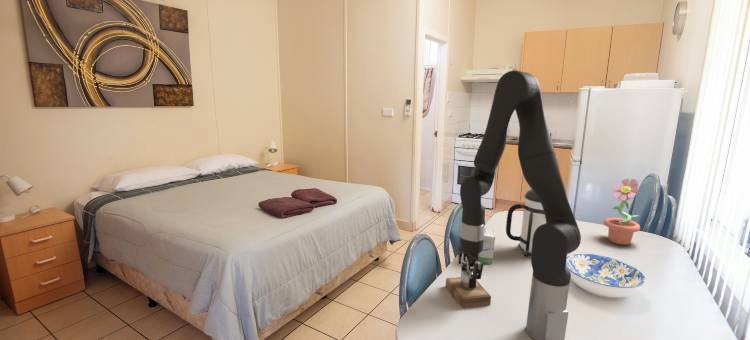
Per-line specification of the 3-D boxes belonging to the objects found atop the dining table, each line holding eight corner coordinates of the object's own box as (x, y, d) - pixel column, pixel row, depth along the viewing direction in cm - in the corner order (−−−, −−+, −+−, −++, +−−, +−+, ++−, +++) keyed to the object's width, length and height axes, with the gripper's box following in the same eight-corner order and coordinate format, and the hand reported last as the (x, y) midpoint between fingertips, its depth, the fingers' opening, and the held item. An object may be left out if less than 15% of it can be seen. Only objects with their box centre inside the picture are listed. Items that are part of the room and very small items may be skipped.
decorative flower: (592, 236, 173) (602, 175, 167) (616, 234, 176) (627, 174, 170) (618, 249, 159) (630, 183, 153) (644, 247, 162) (657, 182, 155)
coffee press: (527, 241, 165) (534, 178, 159) (560, 255, 152) (570, 186, 145) (502, 249, 156) (509, 183, 149) (536, 264, 143) (545, 192, 136)
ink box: (477, 254, 151) (480, 227, 149) (490, 255, 150) (493, 228, 148) (479, 263, 143) (481, 235, 141) (492, 264, 142) (495, 236, 140)
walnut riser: (490, 304, 115) (491, 296, 114) (461, 307, 113) (461, 298, 112) (472, 283, 127) (472, 275, 127) (445, 286, 125) (446, 278, 125)
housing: (463, 291, 117) (465, 276, 115) (457, 283, 121) (458, 268, 120) (478, 290, 118) (479, 275, 116) (471, 282, 122) (472, 267, 121)
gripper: (452, 228, 122) (449, 273, 125) (470, 245, 108) (466, 296, 112) (472, 226, 123) (469, 272, 127) (493, 243, 109) (489, 294, 113)
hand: (468, 283), depth 119 cm, fingers open, 5 cm apart
